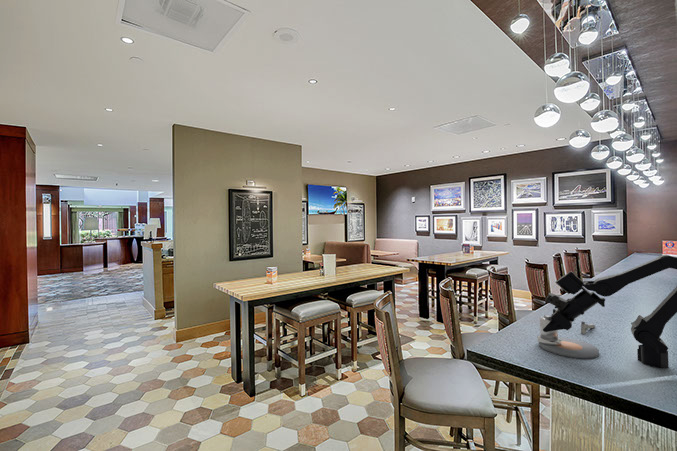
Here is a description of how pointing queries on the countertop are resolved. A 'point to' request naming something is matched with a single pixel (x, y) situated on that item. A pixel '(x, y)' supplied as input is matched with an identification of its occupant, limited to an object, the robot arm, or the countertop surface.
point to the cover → (548, 333)
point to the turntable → (572, 349)
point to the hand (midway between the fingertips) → (544, 328)
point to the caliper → (585, 327)
